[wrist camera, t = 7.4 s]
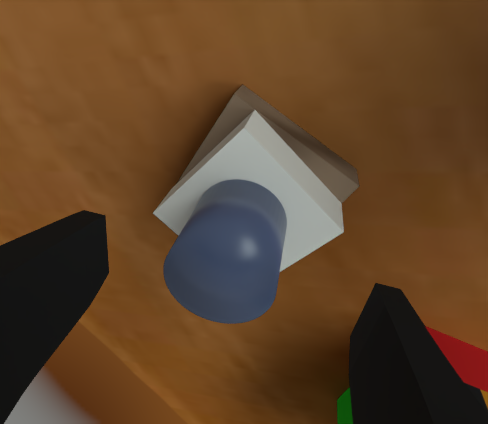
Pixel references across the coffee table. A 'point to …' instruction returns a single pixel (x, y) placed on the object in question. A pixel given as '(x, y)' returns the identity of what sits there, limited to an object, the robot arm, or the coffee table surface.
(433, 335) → the puzzle toy
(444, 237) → the coffee table surface
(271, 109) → the walnut base block
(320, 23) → the coffee table surface
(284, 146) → the cream top block
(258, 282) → the navy rounded cylinder
